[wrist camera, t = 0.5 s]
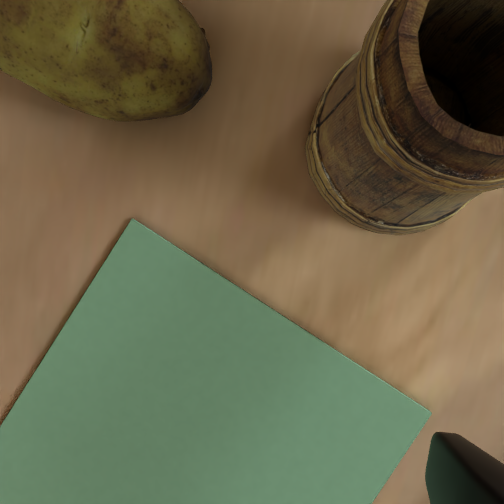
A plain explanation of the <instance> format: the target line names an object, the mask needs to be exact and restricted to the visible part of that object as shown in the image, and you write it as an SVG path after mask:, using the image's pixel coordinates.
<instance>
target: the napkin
mask: <svg viewBox="0 0 504 504" xmlns="http://www.w3.org/2000/svg"><path fill="white" fill-rule="evenodd" d="M431 414H432V413H431V412H430V411H429V410H428V409H426V408H424V407H423V406H421V405H420V404H418V403H417V402H415V401H414V400H412V399H411V398H409V397H407V396H406V395H404V394H403V393H401V392H400V391H398V390H397V389H395V388H394V387H392V386H391V385H389V384H387V383H386V382H384V381H383V380H381V379H380V378H378V377H377V376H375V375H374V374H372V373H370V372H369V371H367V370H366V369H364V368H363V367H361V366H360V365H358V364H357V363H355V362H354V361H352V360H350V359H349V358H347V357H346V356H344V355H343V354H341V353H340V352H338V351H337V350H335V349H333V348H332V347H330V346H329V345H327V344H326V343H324V342H323V341H321V340H320V339H318V338H317V337H315V336H313V335H312V334H310V333H309V332H307V331H306V330H304V329H303V328H301V327H300V326H298V325H297V324H295V323H293V322H292V321H290V320H289V319H287V318H286V317H284V316H283V315H281V314H280V313H278V312H276V311H275V310H273V309H272V308H270V307H269V306H267V305H266V304H264V303H263V302H261V301H260V300H258V299H256V298H255V297H253V296H252V295H250V294H249V293H247V292H246V291H244V290H243V289H241V288H239V287H238V286H236V285H235V284H233V283H232V282H230V281H229V280H227V279H226V278H224V277H223V276H221V275H219V274H218V273H216V272H215V271H213V270H212V269H210V268H209V267H207V266H206V265H204V264H202V263H201V262H199V261H198V260H196V259H195V258H193V257H192V256H190V255H189V254H187V253H186V252H184V251H182V250H181V249H179V248H178V247H176V246H175V245H173V244H172V243H170V242H169V241H167V240H166V239H164V238H162V237H161V236H159V235H158V234H156V233H155V232H153V231H152V230H150V229H149V228H147V227H145V226H144V225H142V224H141V223H139V222H138V221H136V220H135V219H131V221H130V222H129V224H128V225H127V227H126V229H125V230H124V232H123V233H122V235H121V237H120V238H119V240H118V241H117V243H116V244H115V246H114V248H113V249H112V251H111V252H110V254H109V255H108V257H107V259H106V260H105V262H104V263H103V265H102V267H101V268H100V270H99V271H98V273H97V274H96V276H95V278H94V279H93V281H92V282H91V284H90V285H89V287H88V289H87V290H86V292H85V293H84V295H83V297H82V298H81V300H80V301H79V303H78V304H77V306H76V308H75V309H74V311H73V312H72V314H71V315H70V317H69V319H68V320H67V322H66V323H65V325H64V327H63V328H62V330H61V331H60V333H59V334H58V336H57V338H56V339H55V341H54V342H53V344H52V345H51V347H50V349H49V350H48V352H47V353H46V355H45V357H44V358H43V360H42V361H41V363H40V364H39V366H38V368H37V369H36V371H35V372H34V374H33V375H32V377H31V379H30V380H29V382H28V383H27V385H26V387H25V388H24V390H23V391H22V393H21V394H20V396H19V398H18V399H17V401H16V402H15V404H14V405H13V407H12V409H11V410H10V412H9V413H8V415H7V417H6V418H5V420H4V421H3V423H2V424H1V426H0V504H372V502H373V501H374V499H375V498H376V496H377V495H378V493H379V492H380V490H381V489H382V487H383V486H384V484H385V483H386V481H387V480H388V478H389V477H390V475H391V474H392V472H393V471H394V469H395V468H396V466H397V465H398V463H399V462H400V460H401V459H402V457H403V456H404V454H405V453H406V452H407V450H408V449H409V447H410V446H411V444H412V443H413V441H414V440H415V438H416V437H417V435H418V434H419V432H420V431H421V429H422V428H423V426H424V425H425V423H426V422H427V420H428V419H429V417H430V416H431Z"/></svg>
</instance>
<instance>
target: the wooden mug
mask: <svg viewBox="0 0 504 504" xmlns="http://www.w3.org/2000/svg"><path fill="white" fill-rule="evenodd" d="M305 151H306V157H307V164H308V170H309V175H310V176H311V178H312V180H313V182H314V183H315V185H316V187H317V189H318V190H319V192H320V194H321V195H322V197H323V198H324V199H325V200H326V201H327V202H328V204H329V205H330V206H331V207H332V208H333V209H334V211H335V212H337V213H338V214H340V215H341V216H343V217H344V218H345V219H347V220H348V221H350V222H351V223H353V224H354V225H357V226H359V227H362V228H365V229H368V230H370V231H373V232H376V233H384V234H394V235H404V234H409V233H415V232H420V231H425V230H427V229H429V228H431V227H433V226H436V225H438V224H440V223H442V222H444V221H446V220H447V219H449V218H450V217H452V216H453V215H455V214H456V213H458V212H459V211H460V210H461V209H462V208H463V207H464V206H465V205H466V204H468V203H469V202H470V201H471V200H472V199H473V198H474V197H476V196H478V195H479V194H481V193H483V192H486V191H490V190H494V189H498V188H502V187H504V0H387V1H386V2H385V3H384V5H383V6H382V8H381V10H380V11H379V13H378V15H377V17H376V18H375V20H374V22H373V24H372V25H371V27H370V29H369V31H368V32H367V34H366V36H365V39H364V42H363V46H362V50H361V51H359V52H357V53H356V54H354V55H353V56H352V57H351V58H350V59H349V60H348V61H347V62H346V63H345V64H344V65H343V66H342V67H341V68H340V69H339V70H338V71H337V72H336V74H335V75H334V77H333V78H332V80H331V82H330V83H329V85H328V86H327V88H326V90H325V91H324V93H323V95H322V97H321V99H320V101H319V103H318V105H317V108H316V111H315V115H314V118H313V121H312V124H311V127H310V131H309V135H308V138H307V142H306V146H305Z"/></svg>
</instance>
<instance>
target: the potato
mask: <svg viewBox="0 0 504 504" xmlns="http://www.w3.org/2000/svg"><path fill="white" fill-rule="evenodd" d="M209 48H210V47H209V44H208V42H207V40H206V37H205V30H204V29H203V28H200V27H199V26H198V24H197V23H196V21H195V20H194V18H193V17H192V16H191V14H190V13H189V12H188V11H187V10H186V8H185V7H184V6H183V5H182V4H181V3H180V2H179V0H0V70H2V71H3V72H5V73H7V74H9V75H10V76H12V77H14V78H16V79H18V80H20V81H22V82H24V83H26V84H28V85H30V86H32V87H33V88H35V89H37V90H39V91H40V92H42V93H43V94H45V95H47V96H48V97H50V98H52V99H53V100H56V101H58V102H60V103H62V104H64V105H66V106H69V107H71V108H74V109H76V110H79V111H82V112H84V113H87V114H90V115H93V116H96V117H100V118H104V119H109V120H115V121H141V120H150V119H157V118H164V117H171V116H176V115H180V114H184V113H185V112H187V111H189V110H191V109H192V108H193V107H194V106H195V105H196V104H197V103H198V102H199V100H200V99H201V98H202V97H203V96H204V95H205V93H206V92H207V91H208V89H209V87H210V85H211V81H212V63H211V58H210V53H209Z"/></svg>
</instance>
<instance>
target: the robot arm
mask: <svg viewBox="0 0 504 504" xmlns="http://www.w3.org/2000/svg"><path fill="white" fill-rule="evenodd" d="M425 480H426V486H427V491H428V495H429V499H430V503H431V504H504V464H503V463H501V462H500V461H498V460H497V459H495V458H494V457H492V456H491V455H489V454H488V453H486V452H485V451H483V450H481V449H480V448H478V447H477V446H475V445H474V444H472V443H471V442H469V441H468V440H466V439H465V438H463V437H462V436H460V435H458V434H455V433H446V432H436V433H435V434H434V435H433V437H432V439H431V444H430V450H429V455H428V461H427V466H426V472H425Z"/></svg>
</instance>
